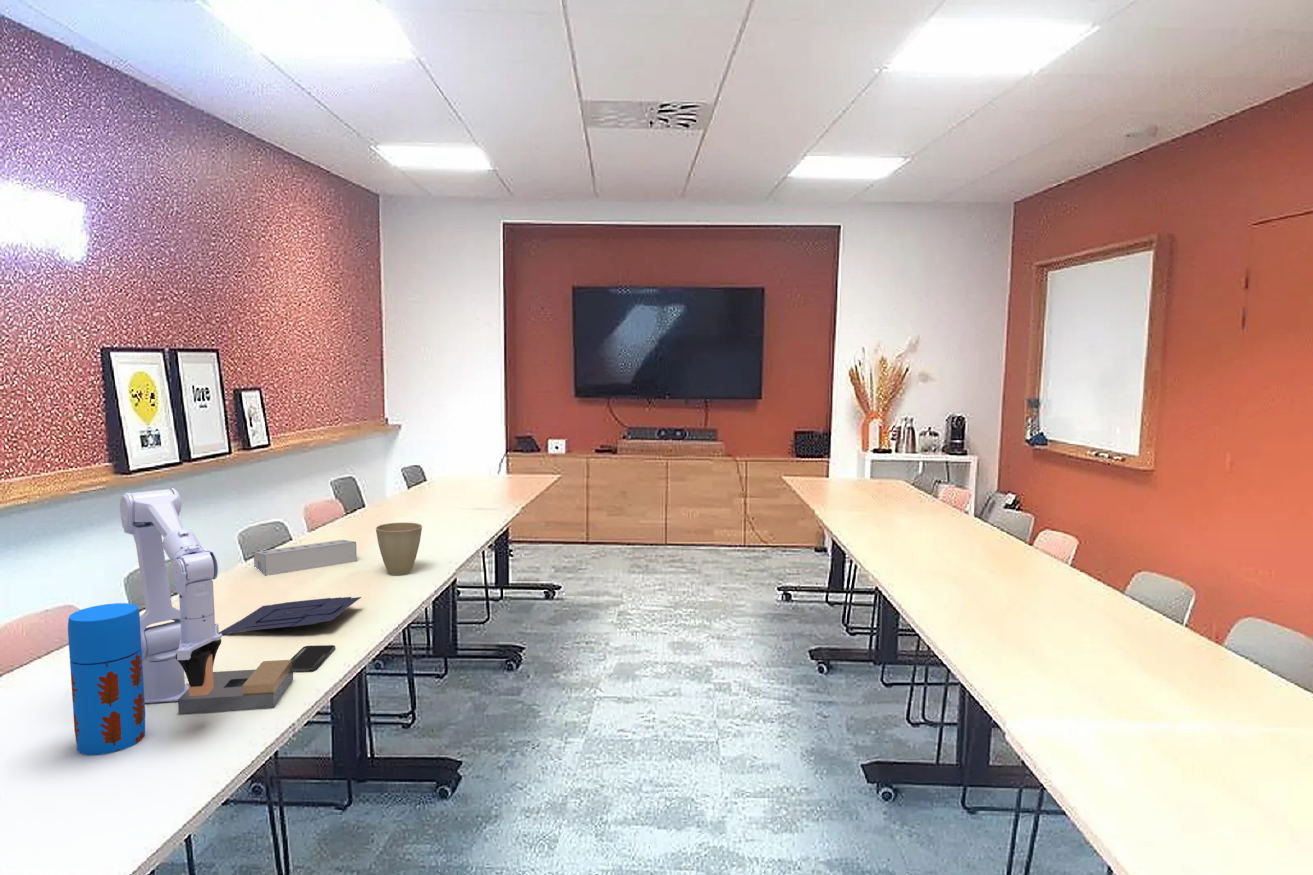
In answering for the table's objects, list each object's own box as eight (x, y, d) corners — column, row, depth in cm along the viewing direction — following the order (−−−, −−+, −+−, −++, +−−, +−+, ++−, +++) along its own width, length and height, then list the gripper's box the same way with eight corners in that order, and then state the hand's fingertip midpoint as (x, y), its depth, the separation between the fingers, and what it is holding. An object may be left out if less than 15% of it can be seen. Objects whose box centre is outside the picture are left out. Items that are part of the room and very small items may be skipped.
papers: (329, 633, 198) (327, 620, 198) (216, 645, 199) (213, 631, 199) (365, 604, 223) (364, 591, 222) (264, 614, 223) (262, 602, 223)
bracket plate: (178, 714, 155) (177, 690, 154) (206, 685, 169) (205, 663, 168) (273, 707, 158) (273, 684, 158) (293, 680, 172) (292, 658, 171)
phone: (279, 669, 176) (304, 645, 191) (279, 674, 176) (304, 649, 191) (314, 669, 176) (337, 645, 191) (315, 673, 177) (337, 649, 191)
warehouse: (342, 554, 285) (342, 534, 284) (356, 562, 274) (356, 541, 273) (254, 568, 265) (253, 546, 264) (265, 577, 254) (264, 554, 253)
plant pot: (410, 579, 251) (409, 532, 250) (368, 577, 254) (367, 530, 252) (430, 568, 266) (429, 523, 265) (390, 565, 268) (389, 521, 267)
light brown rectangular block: (189, 696, 148) (187, 661, 147) (196, 689, 151) (194, 654, 150) (207, 695, 148) (205, 660, 148) (213, 688, 152) (212, 653, 151)
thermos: (159, 727, 149) (152, 602, 147) (122, 755, 139) (114, 621, 136) (102, 727, 149) (94, 602, 146) (61, 755, 138) (52, 621, 136)
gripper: (204, 626, 142) (208, 696, 143) (233, 601, 156) (236, 666, 157) (163, 627, 141) (166, 698, 142) (195, 603, 155) (199, 668, 156)
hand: (200, 681), depth 150 cm, fingers closed on light brown rectangular block, 3 cm apart
